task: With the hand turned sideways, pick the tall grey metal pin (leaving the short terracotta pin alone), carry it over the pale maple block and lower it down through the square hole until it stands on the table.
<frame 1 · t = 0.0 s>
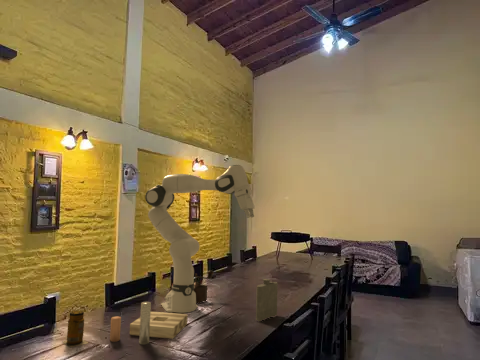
hand: (250, 217, 191), 52 cm above the table, tool tilted 20°, fingers open, 8 cm apart
hole block: (159, 329, 163), on the table
short terracotta pin: (114, 339, 149), on the table
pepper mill: (198, 301, 215), on the table
tall metal pin: (144, 342, 147), on the table
condiment: (75, 343, 144), on the table
hip flask: (265, 318, 184), on the table
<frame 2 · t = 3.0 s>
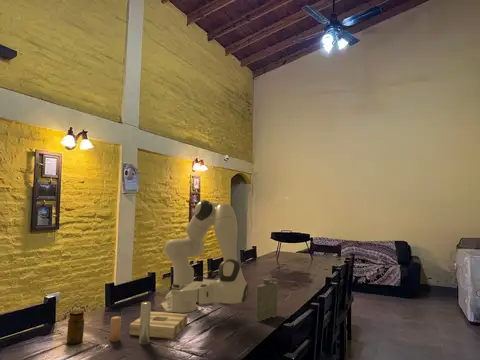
hand: (175, 289, 147), 22 cm above the table, tool horizontal, fingers open, 8 cm apart
nothing on the table moved.
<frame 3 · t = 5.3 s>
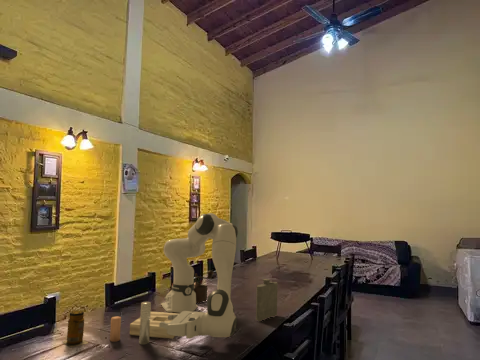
hand: (164, 320, 146), 9 cm above the table, tool horizontal, fingers open, 8 cm apart
nothing on the table moved.
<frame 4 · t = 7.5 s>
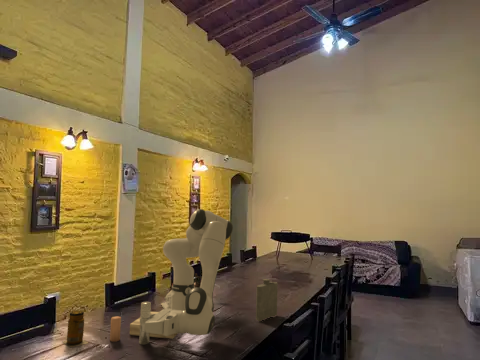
hand: (143, 318, 148), 10 cm above the table, tool horizontal, fingers closed on tall metal pin, 4 cm apart
tall metal pin: (144, 342, 147), on the table, touching gripper
everything else where it was.
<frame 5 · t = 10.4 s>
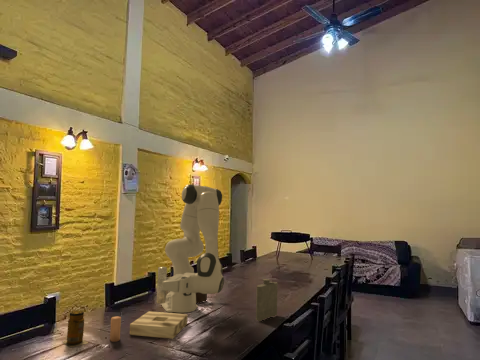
hand: (160, 280, 165), 22 cm above the table, tool horizontal, fingers closed on tall metal pin, 4 cm apart
tall metal pin: (160, 302, 164), point 12 cm above the table, touching gripper
everything else where it was.
when the fingers open (11 cm above the table, at t = 13.3 s): tall metal pin stays where it is, resting in hole block.
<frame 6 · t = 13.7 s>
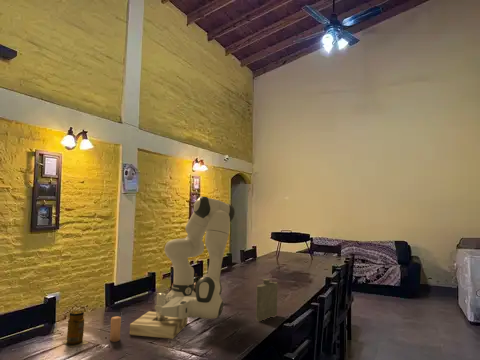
hand: (159, 304, 165), 11 cm above the table, tool horizontal, fingers open, 8 cm apart
tall metal pin: (159, 329, 163), resting in hole block
everything else where it was.
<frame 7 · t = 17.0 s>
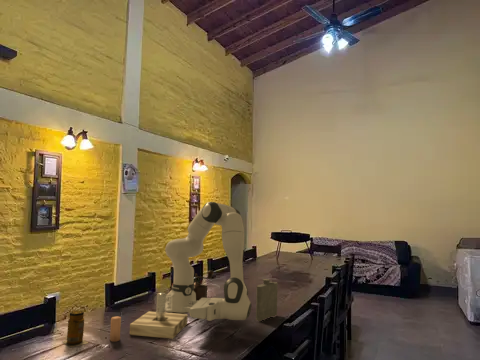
hand: (185, 305, 163), 11 cm above the table, tool horizontal, fingers open, 8 cm apart
nothing on the table moved.
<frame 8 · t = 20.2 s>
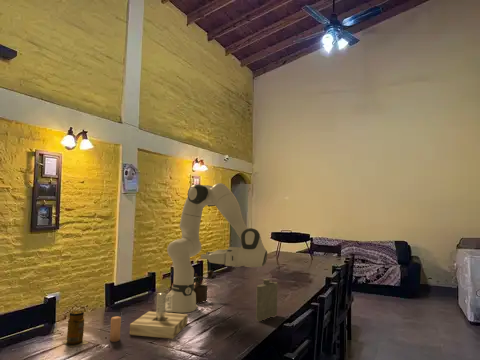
hand: (203, 255, 169), 34 cm above the table, tool horizontal, fingers open, 8 cm apart
nothing on the table moved.
at the end: tall metal pin 0.0 cm off-centre on the hole block, point 0.0 cm above the hole block's base; tall metal pin tilted 0°; short terracotta pin moved 0.0 cm from its start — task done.
